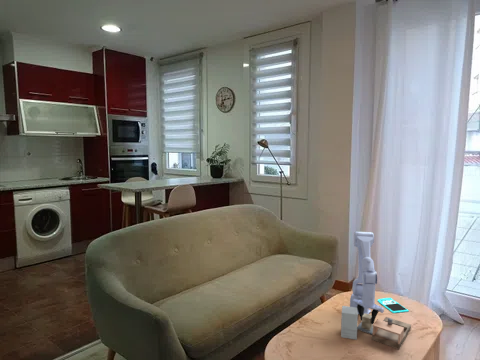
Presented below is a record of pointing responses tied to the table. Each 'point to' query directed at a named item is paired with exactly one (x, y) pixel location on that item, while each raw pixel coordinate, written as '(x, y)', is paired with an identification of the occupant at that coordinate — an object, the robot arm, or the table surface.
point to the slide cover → (389, 328)
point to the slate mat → (365, 329)
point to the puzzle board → (391, 334)
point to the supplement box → (349, 322)
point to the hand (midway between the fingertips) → (367, 321)
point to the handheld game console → (392, 305)
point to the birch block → (366, 321)
